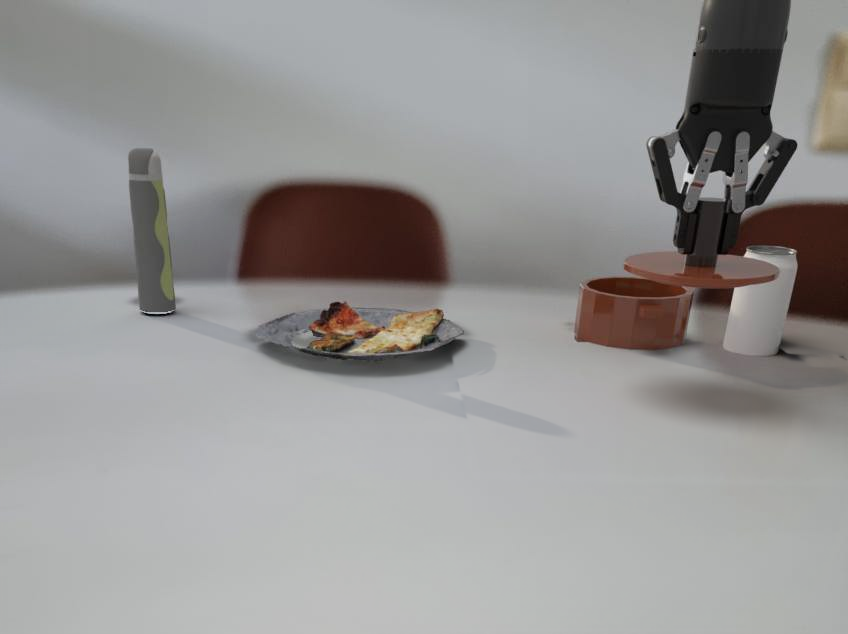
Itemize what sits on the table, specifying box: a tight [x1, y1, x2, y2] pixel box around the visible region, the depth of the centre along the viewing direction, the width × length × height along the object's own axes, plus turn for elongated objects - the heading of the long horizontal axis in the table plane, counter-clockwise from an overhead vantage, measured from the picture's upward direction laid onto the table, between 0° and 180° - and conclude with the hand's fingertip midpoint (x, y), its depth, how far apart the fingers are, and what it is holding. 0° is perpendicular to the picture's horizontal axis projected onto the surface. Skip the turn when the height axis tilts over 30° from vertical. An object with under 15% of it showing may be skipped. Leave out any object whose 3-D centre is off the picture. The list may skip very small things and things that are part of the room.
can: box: [722, 245, 799, 357], centre depth 116 cm, size 6×6×12 cm
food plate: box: [254, 300, 464, 364], centre depth 118 cm, size 25×23×4 cm
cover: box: [622, 196, 780, 289], centre depth 94 cm, size 15×15×7 cm
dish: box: [573, 275, 695, 351], centre depth 122 cm, size 14×19×6 cm
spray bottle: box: [127, 147, 177, 312], centre depth 128 cm, size 5×5×20 cm
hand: (702, 252), depth 94 cm, fingers closed on cover, 3 cm apart
